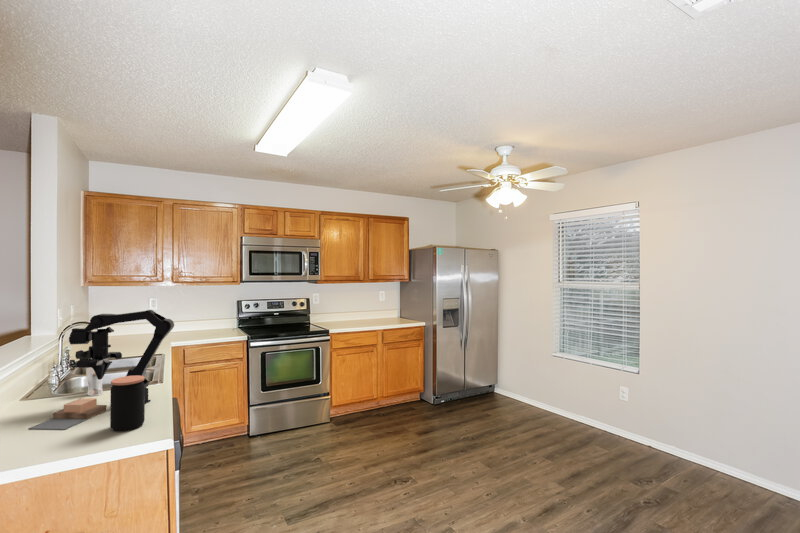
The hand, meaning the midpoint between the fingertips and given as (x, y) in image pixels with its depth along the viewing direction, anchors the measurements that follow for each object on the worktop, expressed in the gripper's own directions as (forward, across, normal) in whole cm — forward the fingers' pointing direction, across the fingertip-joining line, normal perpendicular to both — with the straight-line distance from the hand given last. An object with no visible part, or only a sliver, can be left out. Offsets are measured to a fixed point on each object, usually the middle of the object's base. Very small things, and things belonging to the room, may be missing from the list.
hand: (99, 379), depth 174 cm
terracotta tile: (+9, +10, 0) cm, 14 cm away
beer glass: (+12, -17, -16) cm, 26 cm away
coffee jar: (+12, +21, +28) cm, 37 cm away
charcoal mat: (+12, +20, 0) cm, 23 cm away
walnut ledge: (+12, +10, 0) cm, 15 cm away
